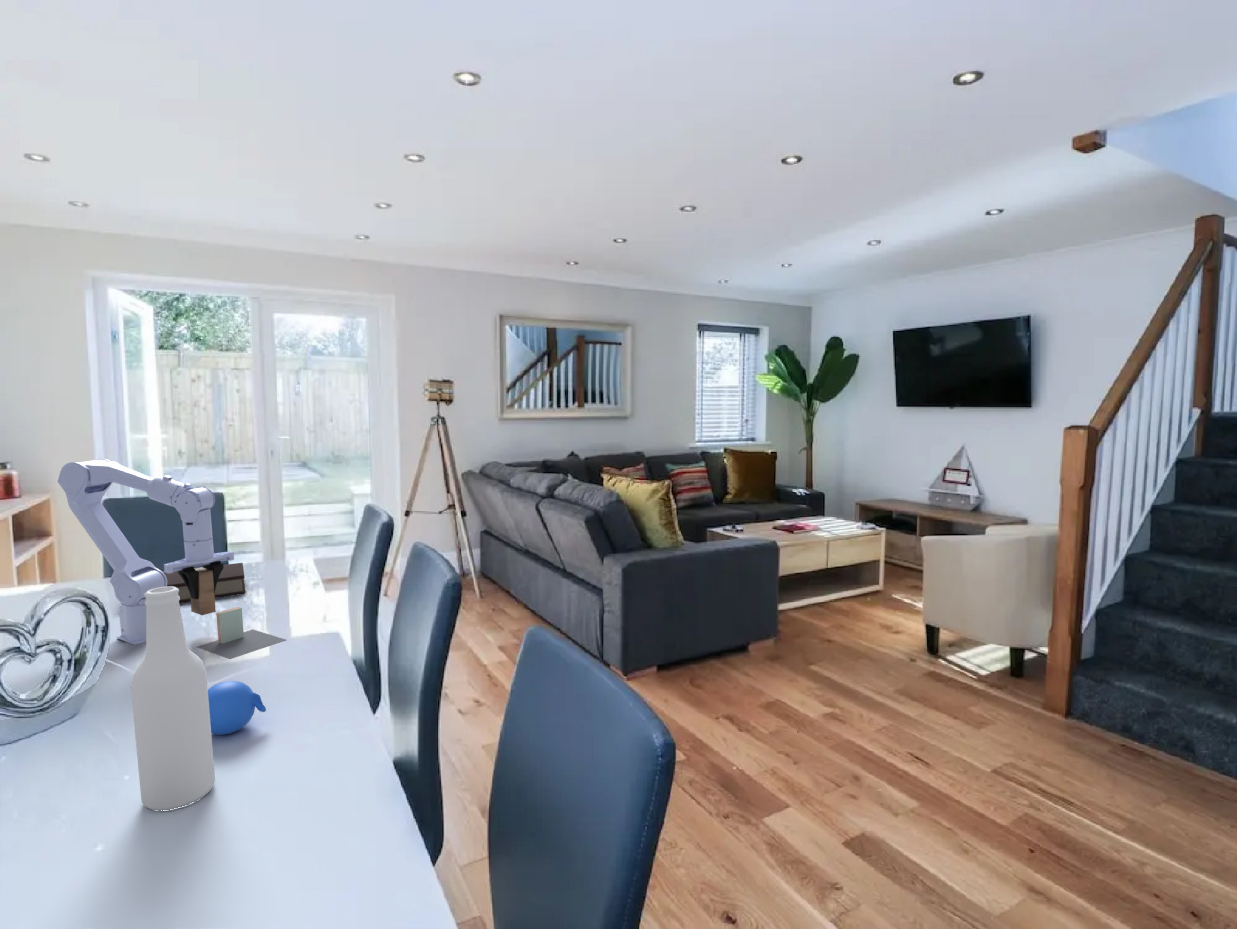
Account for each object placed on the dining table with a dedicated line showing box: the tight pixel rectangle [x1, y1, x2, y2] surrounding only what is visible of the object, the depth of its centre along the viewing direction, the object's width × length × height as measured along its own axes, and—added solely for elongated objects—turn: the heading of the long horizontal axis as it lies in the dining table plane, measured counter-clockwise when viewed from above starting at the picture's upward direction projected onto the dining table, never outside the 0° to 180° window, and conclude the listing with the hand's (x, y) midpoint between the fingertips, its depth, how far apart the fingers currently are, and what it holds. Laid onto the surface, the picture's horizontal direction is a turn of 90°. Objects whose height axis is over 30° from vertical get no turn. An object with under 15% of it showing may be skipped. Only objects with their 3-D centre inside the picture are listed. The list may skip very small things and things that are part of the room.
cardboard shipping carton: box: [190, 566, 217, 616], centre depth 159 cm, size 5×3×10 cm, turn 57°
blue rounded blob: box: [208, 680, 267, 736], centre depth 116 cm, size 12×12×8 cm
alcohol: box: [130, 587, 216, 811], centre depth 94 cm, size 9×9×30 cm
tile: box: [215, 606, 245, 644], centre depth 156 cm, size 2×5×7 cm, turn 148°
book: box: [162, 562, 247, 604], centre depth 196 cm, size 28×20×6 cm
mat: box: [196, 629, 287, 660], centre depth 154 cm, size 14×13×1 cm
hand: (203, 596), depth 159 cm, fingers closed on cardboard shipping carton, 3 cm apart
